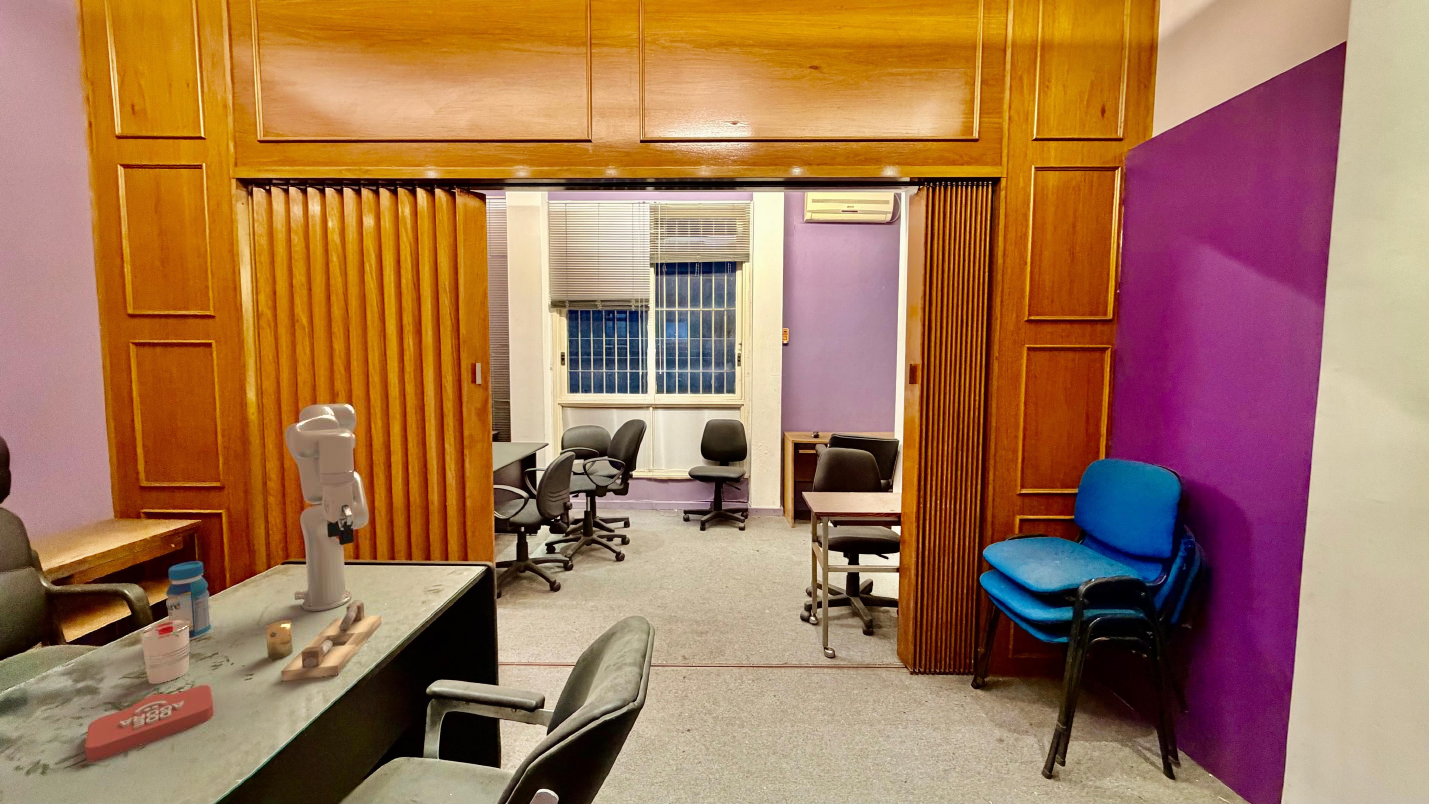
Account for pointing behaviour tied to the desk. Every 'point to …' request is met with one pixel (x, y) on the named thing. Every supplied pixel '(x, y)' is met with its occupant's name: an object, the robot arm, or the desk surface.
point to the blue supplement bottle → (189, 597)
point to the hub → (279, 640)
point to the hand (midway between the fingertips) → (340, 539)
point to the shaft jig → (320, 652)
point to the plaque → (148, 721)
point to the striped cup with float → (166, 650)
